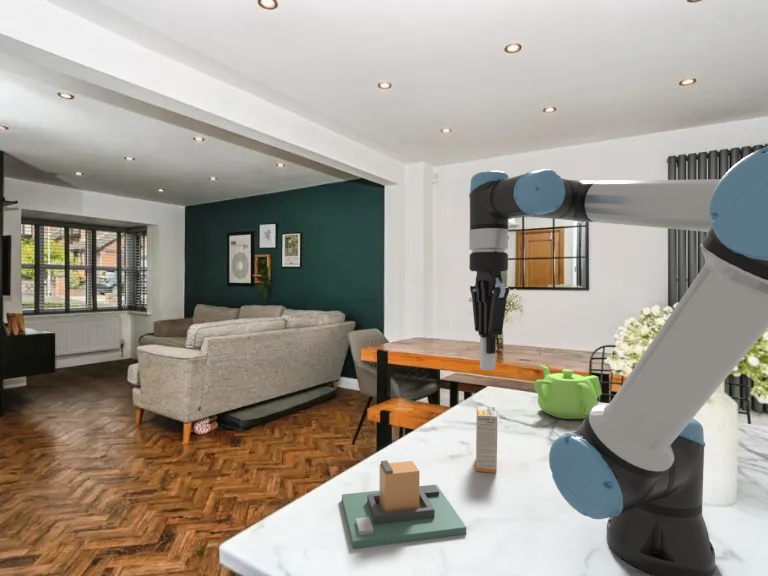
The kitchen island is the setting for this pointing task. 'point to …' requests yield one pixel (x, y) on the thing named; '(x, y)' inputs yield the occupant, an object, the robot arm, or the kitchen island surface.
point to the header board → (400, 519)
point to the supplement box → (486, 439)
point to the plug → (399, 486)
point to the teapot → (567, 394)
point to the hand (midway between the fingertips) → (487, 368)
